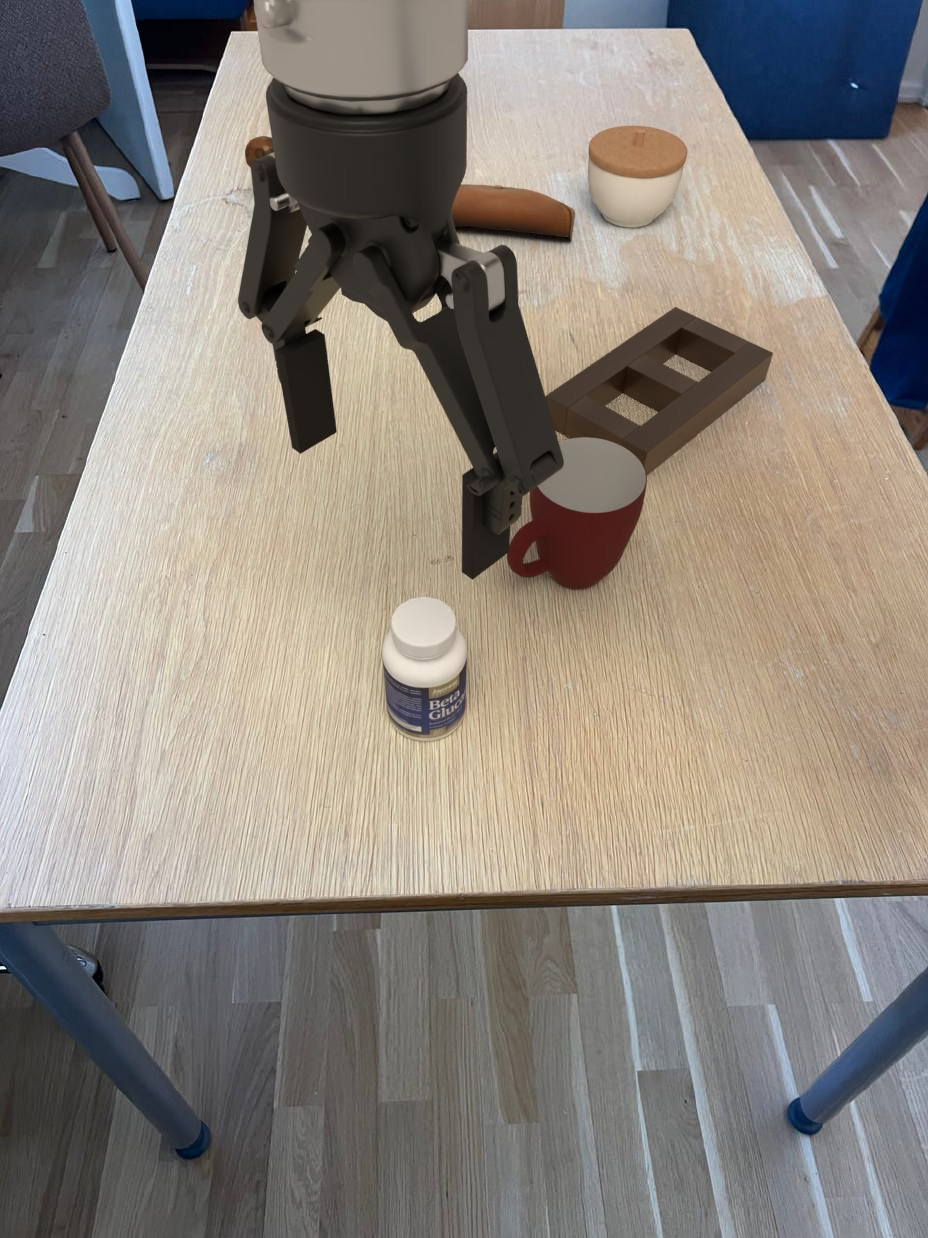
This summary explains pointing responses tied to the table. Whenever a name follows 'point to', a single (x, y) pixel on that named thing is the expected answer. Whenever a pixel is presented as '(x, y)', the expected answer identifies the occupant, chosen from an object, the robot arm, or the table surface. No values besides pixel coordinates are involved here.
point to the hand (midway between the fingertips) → (395, 498)
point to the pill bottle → (425, 670)
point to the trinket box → (634, 173)
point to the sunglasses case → (511, 210)
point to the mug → (582, 514)
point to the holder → (660, 386)
